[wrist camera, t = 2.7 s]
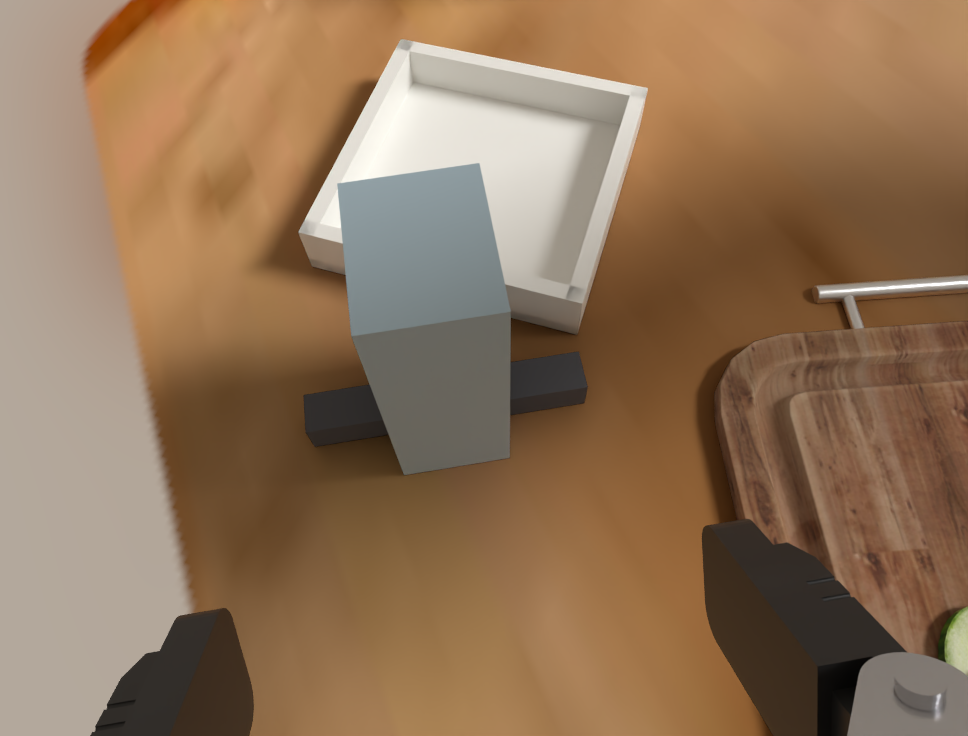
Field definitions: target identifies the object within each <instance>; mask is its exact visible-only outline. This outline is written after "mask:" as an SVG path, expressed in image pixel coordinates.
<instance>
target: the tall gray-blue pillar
mask: <svg viewBox="0 0 968 736" xmlns="http://www.w3.org/2000/svg"><path fill="white" fill-rule="evenodd" d="M337 187H338V198H339V209H340V220H341V230H342V241H343V252H344V263H345V273H346V284H347V295H348V306H349V316H350V327H351V337H352V339H353V342H354V345H355V347H356V350H357V353H358V355H359V358H360V360H361V363H362V366H363V368H364V371H365V374H366V376H367V379H368V381H369V384H370V387H371V389H372V392H373V395H374V397H375V400H376V403H377V405H378V408H379V410H380V413H381V416H382V418H383V421H384V424H385V426H386V429H387V431H388V434H389V437H390V439H391V442H392V445H393V447H394V450H395V453H396V455H397V458H398V460H399V463H400V466H401V468H402V471H403V474H404V475H409V474H415V473H421V472H427V471H433V470H439V469H445V468H451V467H457V466H464V465H470V464H476V463H482V462H488V461H494V460H500V459H506V458H510V356H511V310H510V305H509V301H508V296H507V291H506V287H505V282H504V277H503V272H502V268H501V263H500V258H499V253H498V249H497V244H496V239H495V234H494V230H493V225H492V220H491V216H490V211H489V206H488V201H487V197H486V192H485V187H484V182H483V178H482V173H481V168H480V163H475V164H469V165H462V166H455V167H448V168H441V169H434V170H427V171H420V172H413V173H406V174H399V175H393V176H386V177H379V178H372V179H365V180H358V181H351V182H344V183H337Z"/></svg>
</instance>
